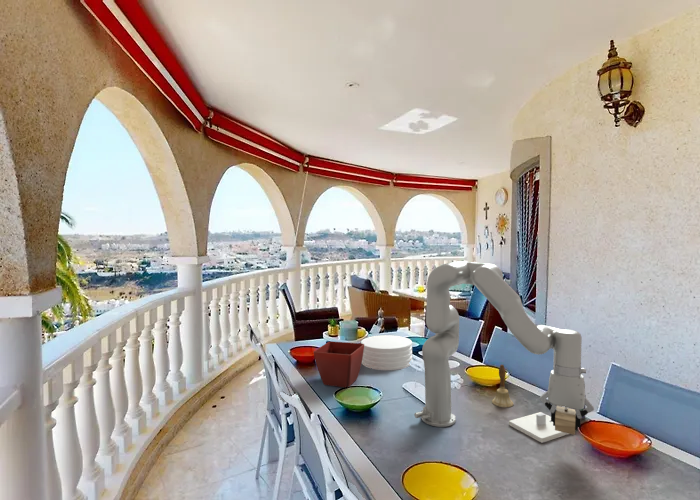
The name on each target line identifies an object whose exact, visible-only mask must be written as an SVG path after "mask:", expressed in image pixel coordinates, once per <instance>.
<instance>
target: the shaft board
mask: <svg viewBox="0 0 700 500" xmlns="http://www.w3.org/2000/svg"><path fill="white" fill-rule="evenodd" d="M508 426H510V427H512V428H514V429H515V430H518V431H519V432H521V433H523V434H525V435H527V436H528V437H530V438H532V439H534V440H536V442H537V441H538V442H539V443H541V444H543V443H546V442H549V441H551V440H552V441H553V440H555V439H557V438H560V437H564V436H567V435H570V434H569V433H565V432H560V431H556V430H555V426H553V422H552V421H551V415H548V414H546V413H544V412H542V411H540V412H536V413H535V412H534V413H533V414H527V415H526V416H521V417H517V418H514V419H511V420H508Z"/></svg>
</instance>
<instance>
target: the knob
mask: <svg viewBox="0 0 700 500" xmlns="http://www.w3.org/2000/svg"><path fill="white" fill-rule="evenodd" d="M575 419H576V412H575V409H570V408H568V407H564V406H559V405H557V407H556V414H555V430H556V431H560V432H565V433H569V434H568V435H570V434H571V435H574V436H575V435H576V430H575Z"/></svg>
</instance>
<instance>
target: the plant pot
mask: <svg viewBox="0 0 700 500" xmlns="http://www.w3.org/2000/svg"><path fill="white" fill-rule="evenodd" d="M363 352H364V344H361V342H358V343H356V342H344V341H332V340H331V341H328V342H326V343H325V344H322V345H321V346H320V347H318V348H317V349H315V350H313V356H314V361H315V365H316V368H317V371H318V374H319V376H320V379H321V382H322V383H323V385H324V386H331V387H336V388H337V387H339V388H346V387H347V388H349V387H350V386H352V385H353V384H354V382H356V380H358V378H359V375H360V370H361V368H362V358H363ZM348 386H349V387H348Z"/></svg>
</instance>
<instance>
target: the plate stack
mask: <svg viewBox="0 0 700 500" xmlns="http://www.w3.org/2000/svg"><path fill="white" fill-rule="evenodd" d="M360 344H364V352H363V358H362V363H361V365H363V366H364V367H366V368H368V369H371V368H372V369H371V370H376V371H398V370H402V369H406V368H409V367H411V365H410V364H409V362H410V361H411V360H412V361H413V341H412V340H411V339H410V338H408V337H405V336H399V335H393V334H392V335H389V334H386V335H385V334H384V335H373V336H369V337H366V338H364V339H361V342H360Z"/></svg>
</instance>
